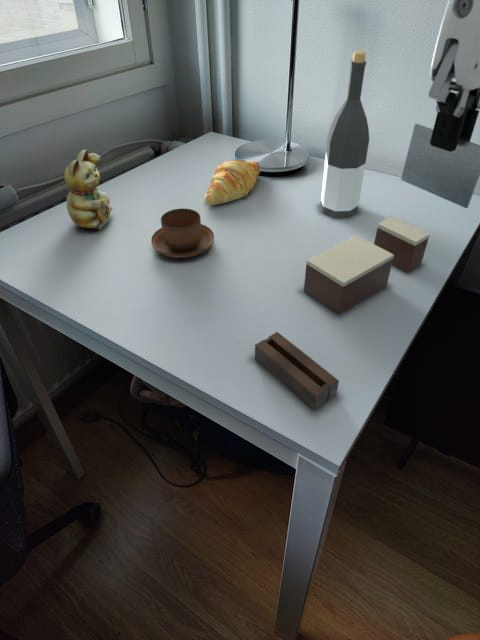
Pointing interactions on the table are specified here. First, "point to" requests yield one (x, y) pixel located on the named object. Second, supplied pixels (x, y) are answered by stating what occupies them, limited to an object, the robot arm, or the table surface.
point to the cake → (347, 273)
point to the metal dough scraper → (443, 164)
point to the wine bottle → (346, 149)
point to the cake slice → (402, 243)
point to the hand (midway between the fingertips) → (449, 143)
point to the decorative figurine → (86, 192)
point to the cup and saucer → (182, 234)
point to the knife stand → (296, 370)
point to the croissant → (232, 181)
